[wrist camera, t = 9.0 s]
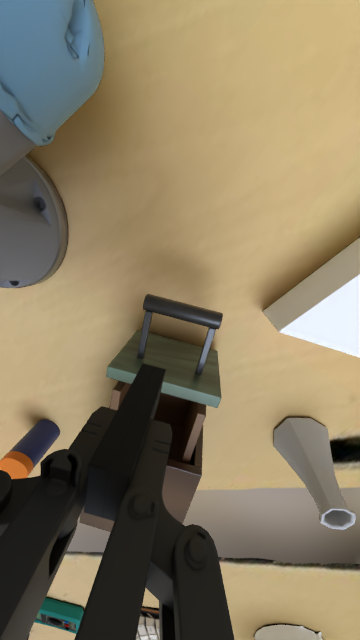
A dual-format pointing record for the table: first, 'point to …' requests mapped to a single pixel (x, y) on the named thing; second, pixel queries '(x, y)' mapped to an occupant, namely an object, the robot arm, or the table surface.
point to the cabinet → (168, 488)
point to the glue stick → (30, 449)
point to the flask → (314, 467)
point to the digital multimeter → (60, 615)
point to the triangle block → (324, 304)
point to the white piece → (286, 633)
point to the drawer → (173, 372)
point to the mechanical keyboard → (148, 625)
